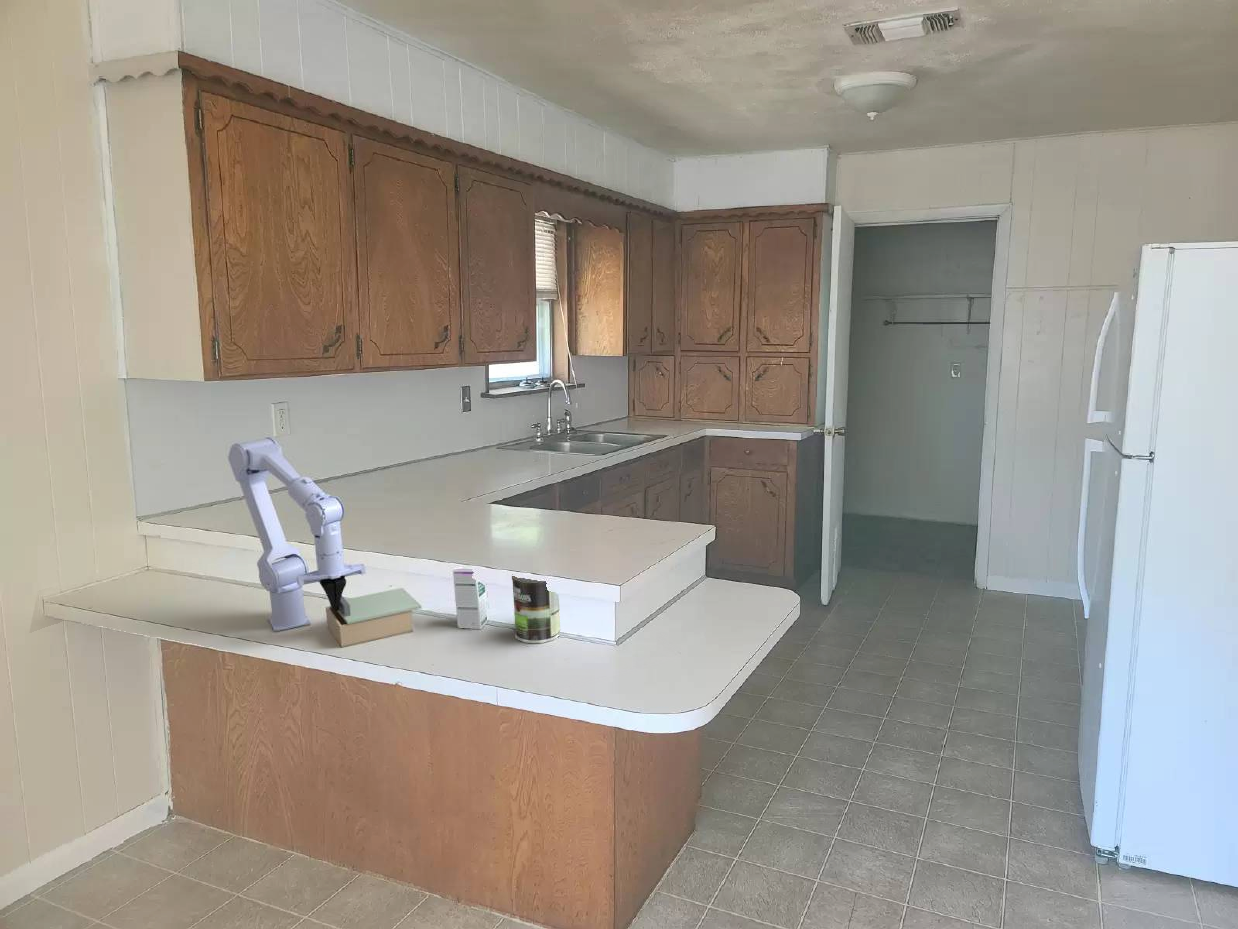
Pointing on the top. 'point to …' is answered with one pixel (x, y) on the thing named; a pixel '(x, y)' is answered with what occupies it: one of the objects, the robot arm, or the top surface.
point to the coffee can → (535, 611)
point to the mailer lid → (376, 605)
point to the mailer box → (367, 627)
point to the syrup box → (469, 599)
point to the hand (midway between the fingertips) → (335, 609)
